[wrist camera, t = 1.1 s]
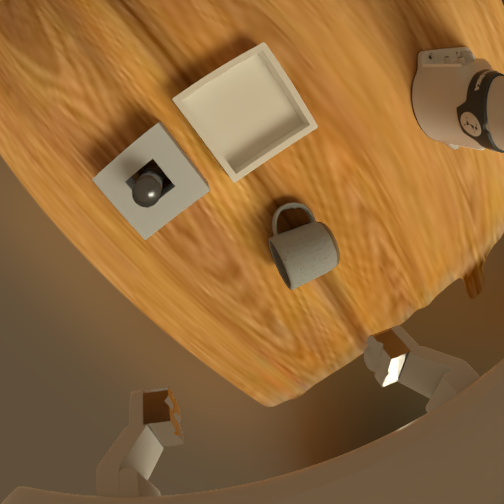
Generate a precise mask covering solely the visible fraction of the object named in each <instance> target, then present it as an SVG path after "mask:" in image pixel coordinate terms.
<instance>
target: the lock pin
mask: <svg viewBox="0 0 504 504" xmlns="http://www.w3.org/2000/svg"><path fill="white" fill-rule="evenodd" d="M164 178H165V174H164V172H163V170H162V169H161V168H160V167H159V166H157V165H149V166H147V167H146V168H145V169H144V170H143V172H142V173H141V175H140V177H139V178H138V180H137V182H136V183H135V185H134V187H133V189H132V197H133V200H134V201H135V203H136V204H138V205H139V206H141V207H151V206H153V205H155V204H156V203H157V202H158V200H159V198H160V195H161V191H162V186H163V182H164Z"/></svg>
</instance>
